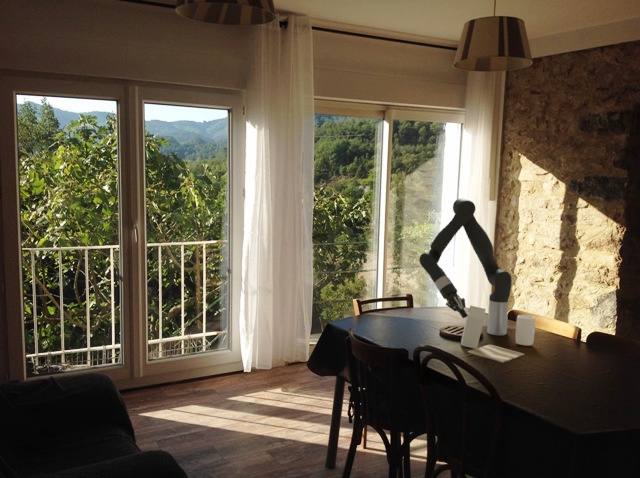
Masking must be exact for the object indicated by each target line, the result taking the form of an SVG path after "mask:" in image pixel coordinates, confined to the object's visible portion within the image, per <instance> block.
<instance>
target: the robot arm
mask: <svg viewBox="0 0 640 478" xmlns="http://www.w3.org/2000/svg"><path fill="white" fill-rule="evenodd" d="M452 211H453V213H454V216H453V218H452V219H451V220H450V221H449V222H448V224H446V226H445V227H443V228H442V229H441V230H440V231H439V232H438V234H437V235H436V236H435V237H434V240H432V242H431V244H430V249H429V251H428V252H423V253H421V254H420V256H419V264H420V265H421V267H422V268H423V269H424V270H425V272H426V273H427V274H428V276H429V277H430V278H431V280H432V282H433V283H434V285H435V287H436V289H437V290H438V292H439V294H440V295H441V296H442V298H443V299H444V300H446V303H445V306H446V307H448V308H450V309H451V310H452V311H454V312H457V313H459V316H461V318H462V319H465V318H467V314H468V312H467V311H466V309H465V308H466V307H467V306H466V299H465V298H464V297H462V298H461V297H460V295H458V289H457V288H456V286H455V285H454V283H453V282H452V280H451V279H450V278H449V277H448V275H447V274H446V273H445V271H444V270H443V268H441V267H440V266H439V265H438V263H439V261H440V260H441V256H442V255H443V252H444V251H445V249H446V248H447V247H448V245H449V244H450V242H451V241H452V240H453V238H454V237H455V236H456V234H457V233H458V232H459V231H460V230H461V228H462V227H463V229H464V231H465V234H466V236H467V239H468V241H469V242H470V243H469V244H470V245H471V247H472V250H473V251H474V253H475V255H476V256H477V258H478V260H479V261H480V264H481V267H483V270H484V273H485V276H486V279H487V280H488V283H489V284H490V285H491V286H493V293H490V294H489V299H488V301H489V302H488V313H487V315H488V317H487V328H486V329H487V334H489V335H492V336H506V335H507V331H508V305H509V298H510V295H511V290H512V276H511V273H510V272H509V271H506V270H503V269H501V268H500V267H499V265H498V264H497V261H496V259H495V257H494V256H495V255H494V246H493V243H492V241H491V239H490V237H489V235H488V234H487V231H485V229H484V228H483V227H482V225H480V223H479V222H478V221H477V219H476V217H475V212H476V205H475V204H474V202H473V201H471V200H469V199H467V198H457V199H456V200H455V201H454V202H453V205H452Z"/></svg>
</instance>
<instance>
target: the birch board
mask: <svg viewBox="0 0 640 478" xmlns="http://www.w3.org/2000/svg"><path fill="white" fill-rule="evenodd" d="M467 353H469V354H472V355H475V356H478V357H480V358H481V357H482V358H485V359H488V360H492V361H496V362H498V363H501V364H504V363H506V362H509V361H512V360H515V359H517V358H520V357H524V356H525V353H522V352H520V351H515V350H512V349H509V348H504V347H501V346H497V345H494V344H487V345H483V346H480V347H479V346H478V347H477V348H476V349H474V348H472V349H471V350H467Z"/></svg>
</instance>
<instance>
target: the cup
mask: <svg viewBox="0 0 640 478" xmlns="http://www.w3.org/2000/svg"><path fill="white" fill-rule="evenodd" d="M535 331H536V319H535V316H533V315H527V314H518V315H517V317H516V324H515V344H518V345H521V346H533V345H534V341H535V340H534V339H535Z"/></svg>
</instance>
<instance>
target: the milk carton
mask: <svg viewBox="0 0 640 478" xmlns="http://www.w3.org/2000/svg"><path fill="white" fill-rule="evenodd" d="M485 315H486V308H483V307H480V306H479V307H478V306H474V305H470V306H469V308H468V310H467V317H466V319H465V323H464V327H463V330H462V336H461V339H460V344H461V346H463V347H466V348H467V347H468V348H470V349H476V348H479V346H478V345H479V341H480V337H481V334H482V333H481V332H482V329H483V325H484V322H485Z"/></svg>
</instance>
